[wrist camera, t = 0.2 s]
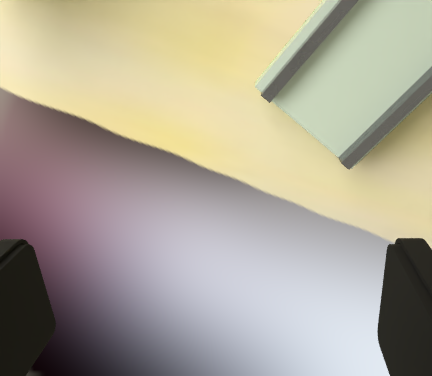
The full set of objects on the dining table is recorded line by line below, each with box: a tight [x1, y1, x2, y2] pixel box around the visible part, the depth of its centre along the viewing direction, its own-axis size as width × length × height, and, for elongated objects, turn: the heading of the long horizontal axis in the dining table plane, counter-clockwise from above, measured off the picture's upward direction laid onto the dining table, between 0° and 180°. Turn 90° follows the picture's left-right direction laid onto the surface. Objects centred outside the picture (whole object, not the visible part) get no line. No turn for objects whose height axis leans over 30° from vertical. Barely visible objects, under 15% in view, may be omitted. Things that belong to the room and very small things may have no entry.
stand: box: [255, 0, 432, 169], centre depth 33 cm, size 18×12×4 cm, turn 142°
